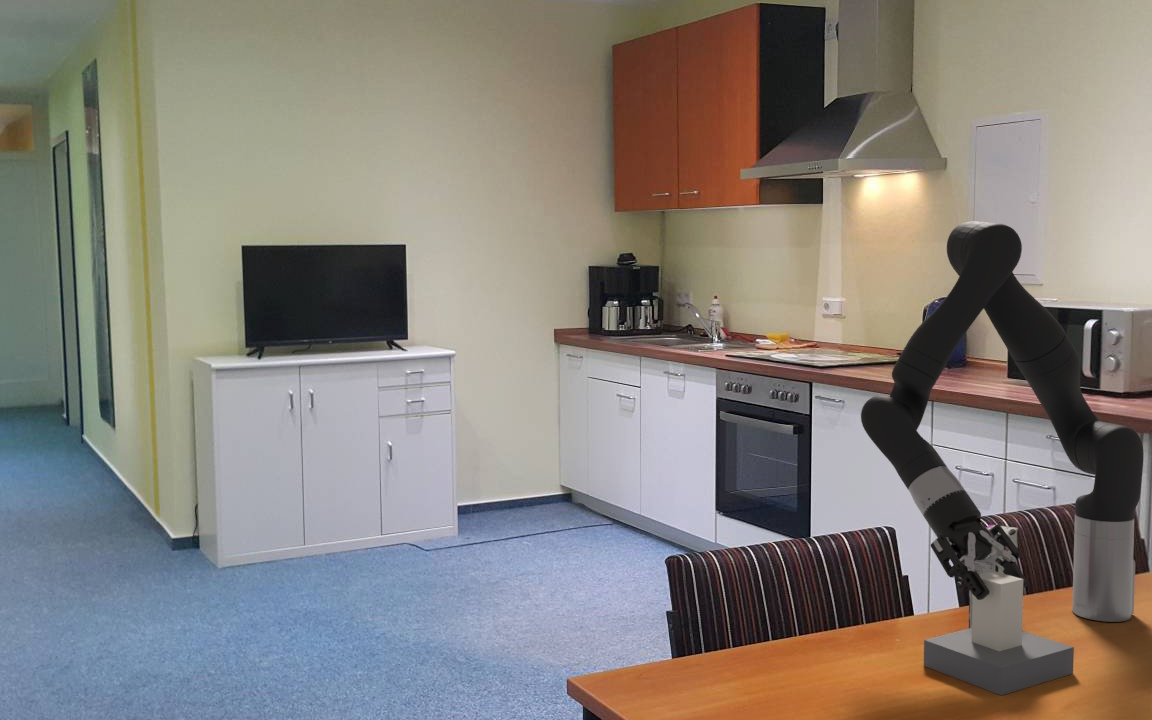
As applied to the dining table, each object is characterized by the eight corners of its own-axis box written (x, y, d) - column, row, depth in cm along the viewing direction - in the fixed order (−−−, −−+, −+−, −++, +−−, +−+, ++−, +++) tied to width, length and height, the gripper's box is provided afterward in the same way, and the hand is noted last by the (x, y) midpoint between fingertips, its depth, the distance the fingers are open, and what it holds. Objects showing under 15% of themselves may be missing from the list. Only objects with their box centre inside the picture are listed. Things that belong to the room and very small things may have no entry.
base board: (994, 646, 178) (994, 621, 178) (1073, 673, 166) (1073, 647, 166) (923, 665, 170) (924, 639, 169) (1001, 695, 158) (1001, 667, 157)
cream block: (993, 635, 171) (995, 571, 170) (1021, 645, 167) (1023, 579, 166) (971, 641, 168) (972, 576, 168) (999, 651, 164) (1000, 584, 163)
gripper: (925, 493, 169) (987, 586, 160) (988, 483, 176) (1051, 572, 167) (898, 521, 174) (956, 613, 165) (960, 511, 181) (1019, 598, 172)
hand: (1004, 592), depth 166 cm, fingers open, 8 cm apart
